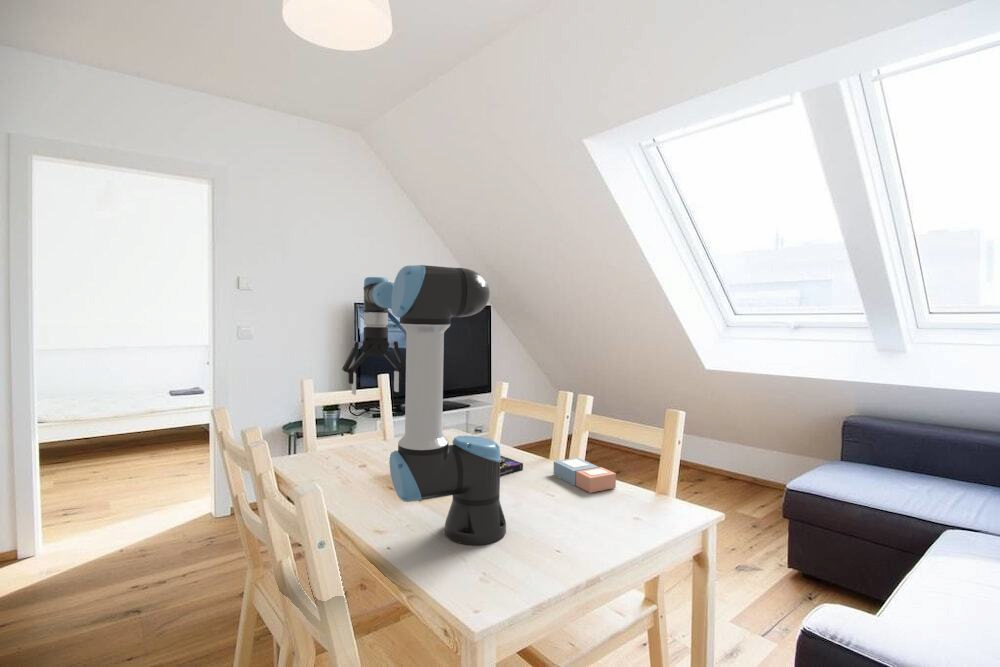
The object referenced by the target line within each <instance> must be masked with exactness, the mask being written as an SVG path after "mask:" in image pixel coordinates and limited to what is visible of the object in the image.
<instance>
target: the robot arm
mask: <svg viewBox="0 0 1000 667" xmlns="http://www.w3.org/2000/svg"><path fill="white" fill-rule="evenodd" d="M490 295H491V294H490V287H489V284H488V282H487V280H486V279H485V278H484V277H483V276H482V275H481V274H480V273H478V272H477V271H475V270H472V269H469V268H464V267H447V266H438V265H437V266H436V265H425V264H420V265H418V264H417V265H412V264H411V265H405V266H403V267H401V268H400V269H399V271H398V272H397V274H396V276H395V279H394V282H392V281H389V280H388V278H386V277H382V276H380V277H379V276H369V277H365V278H364V282H363V325H364V327H363V340H362V342H360V341H359V342H358V341H355V340H354V341H353V343H352V349H351V350H350V352H349V355H348V357H347V358H346V360H345V363H344V364H343V366H342V371H343V372H345V373H348V377H347V378H348V379H347V380H348V381H347V382H348V384H350V385H351V394H352V395H354V396H355V395H357V373H356V372H355V371H357V369H358V368H359V367H360V366H361V364H362V363H363V362H364V360H365V359H367V358H368V356H371V357H372V356H373V357H374V356H382V355H383V356H384V357H385V358H386V360H388V362H389V363H390V364H391V365H392V366H393V367H394V369H395V370H394V371H393V392H395V393H399V392H400V390H399V389H400V386H399V385H400V384H399V383H400V382H402V378H403V377H402V374H403V371H404V370H405V398H404V399H405V403H404V404H405V408H404V410H405V413H404V415H405V416H404V435H403V436H402V437H401V438H400V439H399V440H398V441H397V442H398V444H397V445H398V446H397V450H393V451H392V452H391V453H390V454H389V471H390V477H391V482H392V486H393V488H394V491H395V493H396V495H397V497H398V498H399V500H401V501H402V502H403V503H413V502H422V501H426V500H427V501H428V500H432V499H438V498H442V497H443V498H445V497H448V496H452V501H451V504H450V507H449V510H448V511H447V512H448V513H447V515H446V519H445V523H444V534H445V536H446V537H447V538H449V540H451V541H453V542H456V543H459V544H463V545H471V546H481V545H488V544H491V543H495V542H498V541H499V540H501V539H502V538H503V537H505V535H506V534H507V521H506V518H505V515H504V511H503V507H502V505H501V501H500V497H501V496H500V494H501V492H500V491H501V487H500V486H501V477H500V462H501V457H500V455H501V448H500V445H499V444H498V443H497V441H494V440H493V439H490V438H485V437H481V436H475V435H458V436H455V437H454V438H453V439H452V444H450V445H449V440H448V438H447V437H446V436H445V435H444V434H443V412H444V411H443V408H444V407H443V406H444V405H443V404H444V403H443V401H444V400H443V399H444V353H445V352H444V351H445V348H444V347H445V345H444V344H445V342H444V340H445V332H446V331H447V329H449V328H450V327H451V323H452V322H451V319H452V318H465V317H471V316H473V315H476V314H478V313H480V312H481V311H482V310H484V308H485V307H487V305H488V303H489V299H490ZM389 309H391V312H392V314H393V316H395V317H396V318H399V325H400V327H402V329H403V330H404V332H405V334H406V336H405V337H406V338H405V340H406V342H405V359H404V356H403V355H402V353H401V350H400V348H399V343H398V341H397V340H392V341H389V339H388V338H389V327H388V325H389ZM389 347H390V348H391V349H392V350H393V352H394V354H395V356H396V358H397V360H395V359H394V357H393V356H392V355H391V353H390V352H389V351H388V349H389ZM361 348H363V349H364V350H363V351H362V353H361V355H360V356H359V357H358V358H357V359H356V360H355V361H354V359H355V357H356V355H357V353H358V350H359V349H361ZM353 361H354V363H353ZM397 361H398V362H399V363H398V362H397ZM351 364H352V365H351Z"/></svg>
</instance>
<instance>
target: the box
mask: <svg viewBox="0 0 1000 667" xmlns="http://www.w3.org/2000/svg"><path fill="white" fill-rule="evenodd" d="M500 457H501V461H504V462H506V466H505V467H504V468H502V469H500V478H501V477H505V476H508V475H512V474H515V473H518V472H522V471H523V470H524V463H523V462H520V461H517V460H515V459H512V458H509V457H505V456H503V455H501V454H500Z"/></svg>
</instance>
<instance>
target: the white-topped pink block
mask: <svg viewBox="0 0 1000 667" xmlns="http://www.w3.org/2000/svg"><path fill="white" fill-rule="evenodd" d="M598 467H599V468H593V469H587V470H581V471H576V487H579V488H580V489H582V490H583V491H585V492H587V493H590V494H591V493H597V492H601V491H606V490H612V489H616V487H617V486H616V485H617V483H616V482H617V480H616V479H617V473H616V472H613V471H611V470H608V469H607V468H605V467H602V466H598Z"/></svg>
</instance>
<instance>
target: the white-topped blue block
mask: <svg viewBox="0 0 1000 667" xmlns="http://www.w3.org/2000/svg"><path fill="white" fill-rule="evenodd" d="M599 467H600V466H597V465H596V464H593V463H591V462H589V461H587V460H584V459H582V458H580V457H573V458H566V459H560V460H555V461H553V473H552V474H553V476H555V477H557V478H559V479H561V480H563V481H565V482H567V483H569V484H570V485H572V486H576V471H581V470H587V469H593V468H599ZM576 487H577V486H576Z"/></svg>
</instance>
